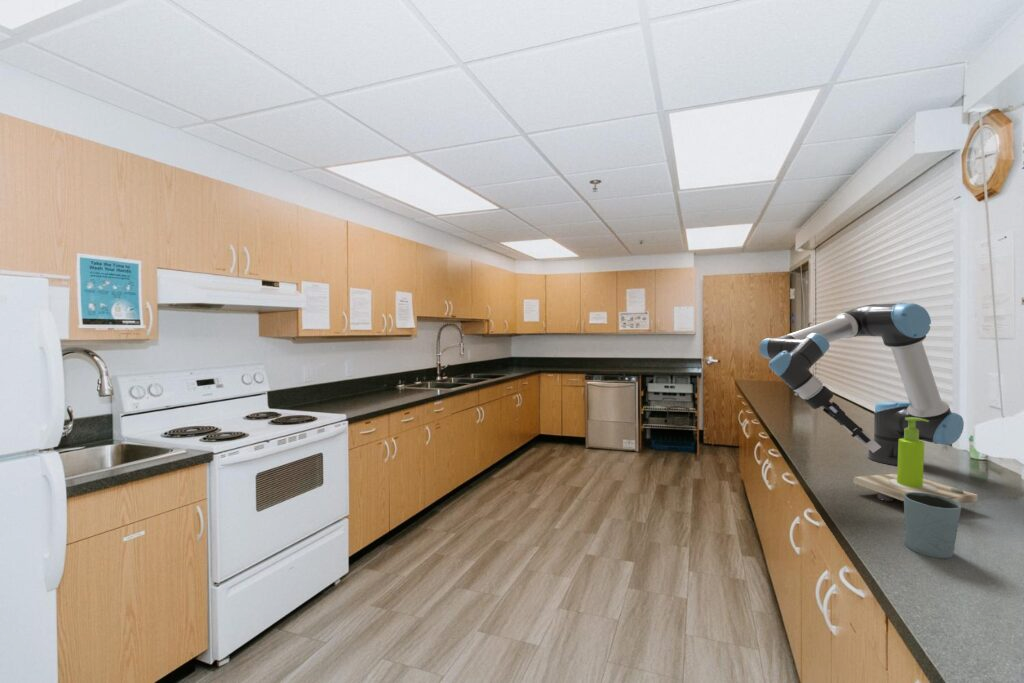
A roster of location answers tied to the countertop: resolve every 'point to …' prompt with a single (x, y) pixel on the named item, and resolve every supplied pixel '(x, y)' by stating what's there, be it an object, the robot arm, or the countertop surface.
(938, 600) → the countertop surface
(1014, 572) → the countertop surface
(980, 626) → the countertop surface
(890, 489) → the stand
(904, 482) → the soap dispenser
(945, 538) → the blue-grey cup
